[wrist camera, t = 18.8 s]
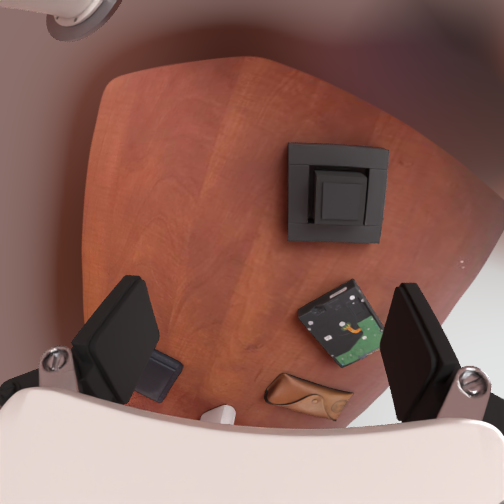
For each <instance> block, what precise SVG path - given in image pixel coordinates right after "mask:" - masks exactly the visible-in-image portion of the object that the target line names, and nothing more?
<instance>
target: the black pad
mask: <svg viewBox="0 0 504 504" xmlns="http://www.w3.org/2000/svg"><path fill="white" fill-rule="evenodd" d="M366 186H367V177H366V176H364V175H363V174H362V173H361V172H360V171H348V170H329V169H314V179H313V210H312V214H313V219H314V224H324V225H352V226H363V218H364V209H365V198H366Z"/></svg>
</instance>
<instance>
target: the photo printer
mask: <svg viewBox="0 0 504 504" xmlns="http://www.w3.org/2000/svg"><path fill="white" fill-rule="evenodd" d="M235 414H236V411H235V409H234V408H233V407H231V406H229V405H222V406H219V407H217V408H215V409H212V410H210V411H208V412H206V413H204V414H202V416H201V418H200V421H205V422H213V423H220V424H229V425H233V424H234V419H235Z"/></svg>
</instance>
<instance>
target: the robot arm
mask: <svg viewBox="0 0 504 504" xmlns="http://www.w3.org/2000/svg"><path fill="white" fill-rule="evenodd" d="M102 2H103V0H0V7H5V8H14V9H22V10H28V11H34V12H39V13H45V14H49V15H54V18H55V21H56V22H57V23H58V24H59V25H61V26H66V27H70V26H75V25H77V24H80V23H81V22H83V21H85V20H86V19H87V18H89V17H90V16H91V15H92V14H93V13H94V12H95V11H96V10H97V9H98V7H99V6H100V5H101V3H102ZM158 341H159V330H158V326H157V323H156V320H155V316H154V313H153V309H152V305H151V302H150V298H149V294H148V291H147V287H146V283H145V281H144V280H142V279H141V277H140V276H132V275H125V276H124V277H123V278H122V280H121V281H120V282H119V283H118V284H117V285H116V287H115V288H114V289H113V290H112V291H111V293H110V294H109V295H108V296H107V297H106V299H105V300H104V301H103V302H102V304H101V305H100V306H99V307H98V308H97V310H96V311H95V312H94V313H93V315H92V316H91V317H90V318H89V320H88V321H87V322H86V324H85V325H84V326H83V328H82V329H81V330H80V331H79V333H78V334H77V335H76V337H75V338H74V339H73V341H72V342H71V343H72V345H73V348H72V349H71V350H70V349H69V348H68V347H66V346H55V347H52V348H50V349H48V350H47V351H46V352H45V353H44V354H43V355H42V356H41V358H40V360H39V368H38V369H36V370H33V371H31V372H28V373H25V374H23V375H20V376H17V377H14V378H12V379H9V380H8V381H6V382H4V383H3V384H2V385H1V387H0V504H504V399H502V398H500V397H498V396H496V395H494V394H493V393H491V382H490V379H489V377H488V376H487V374H486V373H485V372H484V371H483V370H481V369H479V368H477V367H474V366H465V367H462V368H461V366H460V364H459V361H458V359H457V357H456V355H455V353H454V351H453V349H452V347H451V345H450V343H449V341H448V339H447V337H446V335H445V333H444V331H443V329H442V327H441V325H440V324H439V322H438V320H437V318H436V316H435V314H434V313H433V311H432V309H431V307H430V305H429V304H428V302H427V300H426V298H425V297H424V295H423V293H422V292H421V290H420V288H419V287H418V285H417V284H416V283H401V284H400V286H399V287H396V288H395V291H394V295H393V299H392V303H391V306H390V310H389V314H388V317H387V321H386V324H385V327H384V331H383V334H382V337H381V340H380V352H381V355H382V359H383V362H384V366H385V370H386V374H387V378H388V382H389V386H390V390H391V394H392V398H393V402H394V407H395V411H396V415H397V419H398V420H399V421H402V423H397V424H388V425H377V426H365V427H351V428H330V429H287V428H264V427H250V426H239V425H229V424H220V423H213V422H205V421H199V420H192V419H186V418H180V417H175V416H170V415H165V414H160V413H155V412H150V411H146V410H142V409H137V408H133V407H129V406H126V405H124V404H127V403H128V402H129V400H130V398H131V396H132V394H133V392H134V389H135V387H136V385H137V383H138V381H139V379H140V377H141V375H142V373H143V371H144V369H145V367H146V365H147V363H148V361H149V359H150V357H151V355H152V353H153V351H154V349H155V347H156V345H157V343H158Z"/></svg>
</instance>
